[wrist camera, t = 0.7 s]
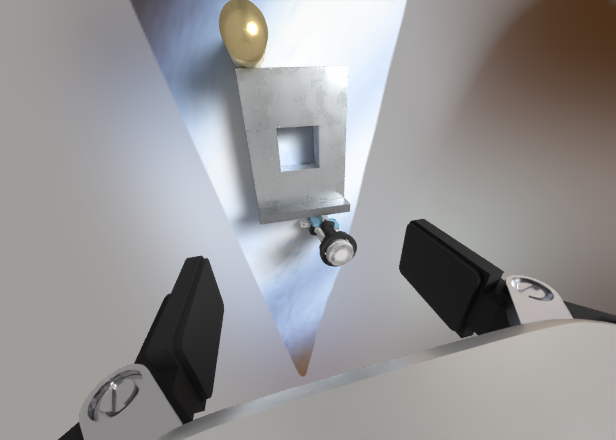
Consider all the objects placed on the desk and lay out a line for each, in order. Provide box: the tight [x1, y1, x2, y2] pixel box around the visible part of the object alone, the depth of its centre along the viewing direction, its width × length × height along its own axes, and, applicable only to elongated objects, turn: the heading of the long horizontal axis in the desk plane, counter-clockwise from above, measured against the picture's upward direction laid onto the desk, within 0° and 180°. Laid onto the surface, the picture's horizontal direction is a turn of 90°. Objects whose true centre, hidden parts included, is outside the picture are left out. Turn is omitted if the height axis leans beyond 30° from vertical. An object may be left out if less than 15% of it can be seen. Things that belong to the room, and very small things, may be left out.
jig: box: [235, 66, 350, 224], centre depth 29 cm, size 18×13×6 cm
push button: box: [300, 215, 357, 266], centre depth 34 cm, size 7×5×10 cm
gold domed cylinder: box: [219, 0, 268, 68], centre depth 22 cm, size 4×4×8 cm
